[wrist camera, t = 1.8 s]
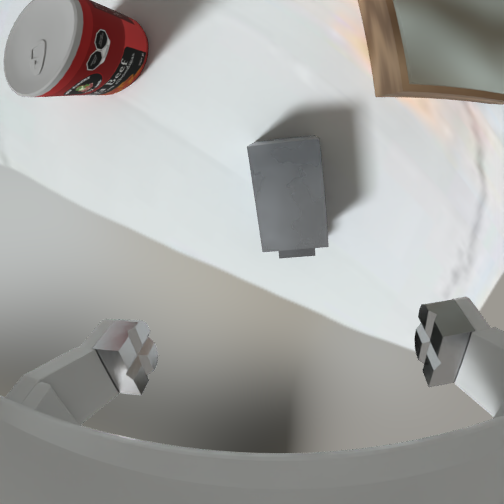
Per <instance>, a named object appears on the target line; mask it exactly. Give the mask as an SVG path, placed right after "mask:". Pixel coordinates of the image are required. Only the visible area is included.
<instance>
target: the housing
mask: <svg viewBox="0 0 504 504" xmlns="http://www.w3.org/2000/svg"><path fill="white" fill-rule="evenodd" d="M247 150H248V157H249V163H250V170H251V177H252V183H253V190H254V197H255V203H256V210H257V217H258V224H259V230H260V237H261V244H262V251H263V252H271V251H279V258H290V257H303V256H315V248H320V247H328V231H327V216H326V203H325V190H324V179H323V169H322V159H321V150H320V141H319V138H318V137H316V136H315V135H314V136H303V137H293V138H283V139H274V140H266V141H258V142H254V143H252V144H251V145H249V146H247Z"/></svg>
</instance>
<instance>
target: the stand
mask: <svg viewBox="0 0 504 504" xmlns="http://www.w3.org/2000/svg"><path fill="white" fill-rule="evenodd" d="M358 3H359V7H360V12H361V16H362V20H363V25H364V30H365V35H366V40H367V45H368V50H369V56H370V62H371V68H372V74H373V81H374V88H375V96H376V97H415V98H436V99H450V100H461V101H471V102H480V103H488V104H504V0H358Z"/></svg>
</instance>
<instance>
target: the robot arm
mask: <svg viewBox="0 0 504 504" xmlns="http://www.w3.org/2000/svg"><path fill="white" fill-rule="evenodd" d="M418 317H419V319H420V322H421V324H420V325H419V326H418V327H417V329H416V333H415V351H416V355H417V358H418V360H419V361H421V362H422V363H424V367H423V373H424V376H425V379H426V381H427V384H428V387H432V386H438V385H443V384H448V383H454V382H455V384H456V385H457V386H458V387H459V388H460V389H461V390H463V391H464V392H465V393H466V394H467V395H469V396H470V397H471V398H472V399H473V400H474V401H476V402H477V403H478V404H479V405H480V406H481V407H483V408H484V409H485V410H486V411H487V412H489V413H490V414H491V415H492V416H493V417H494V418H493V419H490V420H487V421H484V422H482V423H478V424H475V425H472V426H468V427H465V428H462V429H458V430H455V431H451V432H447V433H443V434H439V435H435V436H430V437H426V438H422V439H416V440H412V441H406V442H401V443H395V444H389V445H383V446H376V447H369V448H361V449H352V450H342V451H330V452H314V453H242V452H227V451H214V450H204V449H196V448H187V447H180V446H173V445H166V444H160V443H155V442H149V441H144V440H139V439H134V438H128V437H124V436H120V435H116V434H112V433H108V432H104V431H100V430H96V429H92V428H89V427H85V426H82V425H81V424H82V423H84V422H85V421H86V420H87V419H89V418H90V417H91V416H93V415H94V414H95V413H96V412H97V411H99V410H100V409H101V408H102V407H104V406H105V405H106V404H107V403H109V402H110V401H111V400H112V399H114V398H115V397H116V396H117V395H118V394H119V393H125V394H134V395H142V393H143V391H144V389H145V387H146V385H147V383H148V381H149V379H148V376H147V375H148V374H150V373H151V372H153V371H154V370H155V368H156V365H157V361H158V352H157V348H156V345H155V342H153V341H152V340H151V339H150V338H149V337H148V336H149V334H150V329H149V327H148V325H147V323H146V322H144V321H142V320H120V319H118V320H117V319H104V320H102V321H101V322H100V323H99V324H98V326H97V327H96V328H95V329H94V330H93V331H92V333H91V334H90V335H89V337H88V338H87V339H86V340H85V341H84V342H83V344H82V345H81V346H80V347H79V348H78V347H75V348H74V349H72V350H70V351H68V352H66V353H64V354H62V355H60V356H59V357H57V358H55V359H53V360H51V361H49V362H47V363H45V364H43V365H42V366H40V367H38V368H36V369H34V370H32V371H30V372H28V373H26V374H25V375H23V376H22V377H21V378H20V379H19V381H18V382H17V383H16V384H15V386H14V387H13V388H12V389H11V391H10V392H9V393H8V394H7V396H6V397H3V396H1V395H0V504H504V331H502V330H500V329H498V328H496V327H493V328H491V327H490V326H489V324H488V323H487V322H486V320H485V319H484V317H483V316H482V315H481V313H480V312H479V311H478V309H477V308H476V307H475V305H474V304H473V303H472V301H471V300H470V299H469V298H468V297H461V298H456V299H452V300H448V301H441V302H435V303H428V304H421V307H420V309H419V315H418Z"/></svg>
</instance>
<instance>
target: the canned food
mask: <svg viewBox="0 0 504 504" xmlns="http://www.w3.org/2000/svg"><path fill="white" fill-rule="evenodd" d="M147 55H148V40H147V37H146V34H145V32H144V30H143V29H142V27H141V26H140V24H138V23H137V22H136V21H135V20H133V19H131V18H129V17H127V16H125V15H123V14H120V13H118V12H116V11H114V10H112V9H109V8H107V7H105V6H103V5H100V4H98V3H96V2H93V1H91V0H33V1H31V2H30V3H29V4H28V5H27V6H26V7H25V9H24V10H23V11H22V12H21V14H20V15H19V16H18V18H17V20H16V21H15V23H14V25H13V27H12V29H11V31H10V34H9V37H8V40H7V43H6V47H5V52H4V72H5V77H6V80H7V82H8V85H9V86H10V88H11V89H12V91H14V92H15V93H16V94H17V95H20V96H23V97H49V96H70V95H110V94H114V93H117V92H119V91H121V90H123V89H125V88H126V87H128V86H129V85H130V84H132V83H133V82H134V81H135V80H136V78H137V77H138V76H139V75H140V73H141V71H142V70H143V68H144V65H145V63H146V60H147Z"/></svg>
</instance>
